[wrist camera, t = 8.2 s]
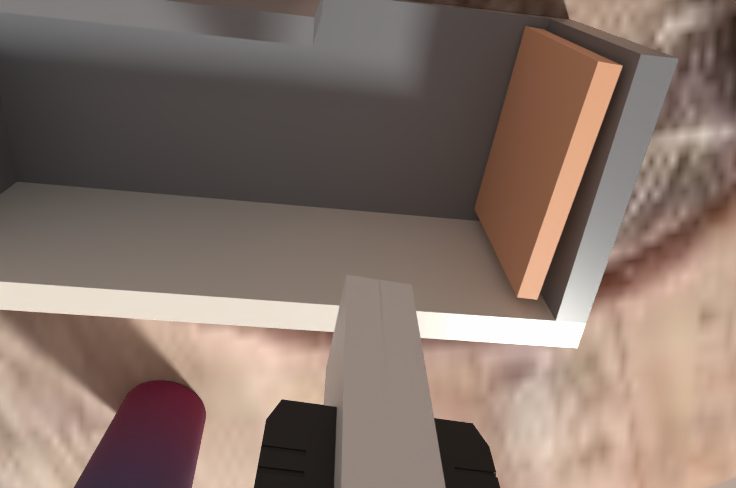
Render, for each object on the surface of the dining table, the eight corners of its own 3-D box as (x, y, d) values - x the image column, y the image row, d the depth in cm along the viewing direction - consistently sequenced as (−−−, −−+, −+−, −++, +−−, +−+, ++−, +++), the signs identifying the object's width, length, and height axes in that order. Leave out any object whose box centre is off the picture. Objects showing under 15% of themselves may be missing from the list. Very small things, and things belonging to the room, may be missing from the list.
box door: (525, 26, 25) (598, 61, 18) (543, 29, 25) (622, 65, 18) (474, 208, 29) (516, 297, 22) (489, 210, 29) (537, 299, 22)
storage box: (569, 19, 26) (679, 58, 17) (513, 236, 31) (577, 348, 22) (-43, -53, 24) (-256, -48, 15) (6, 194, 29) (-134, 300, 20)
